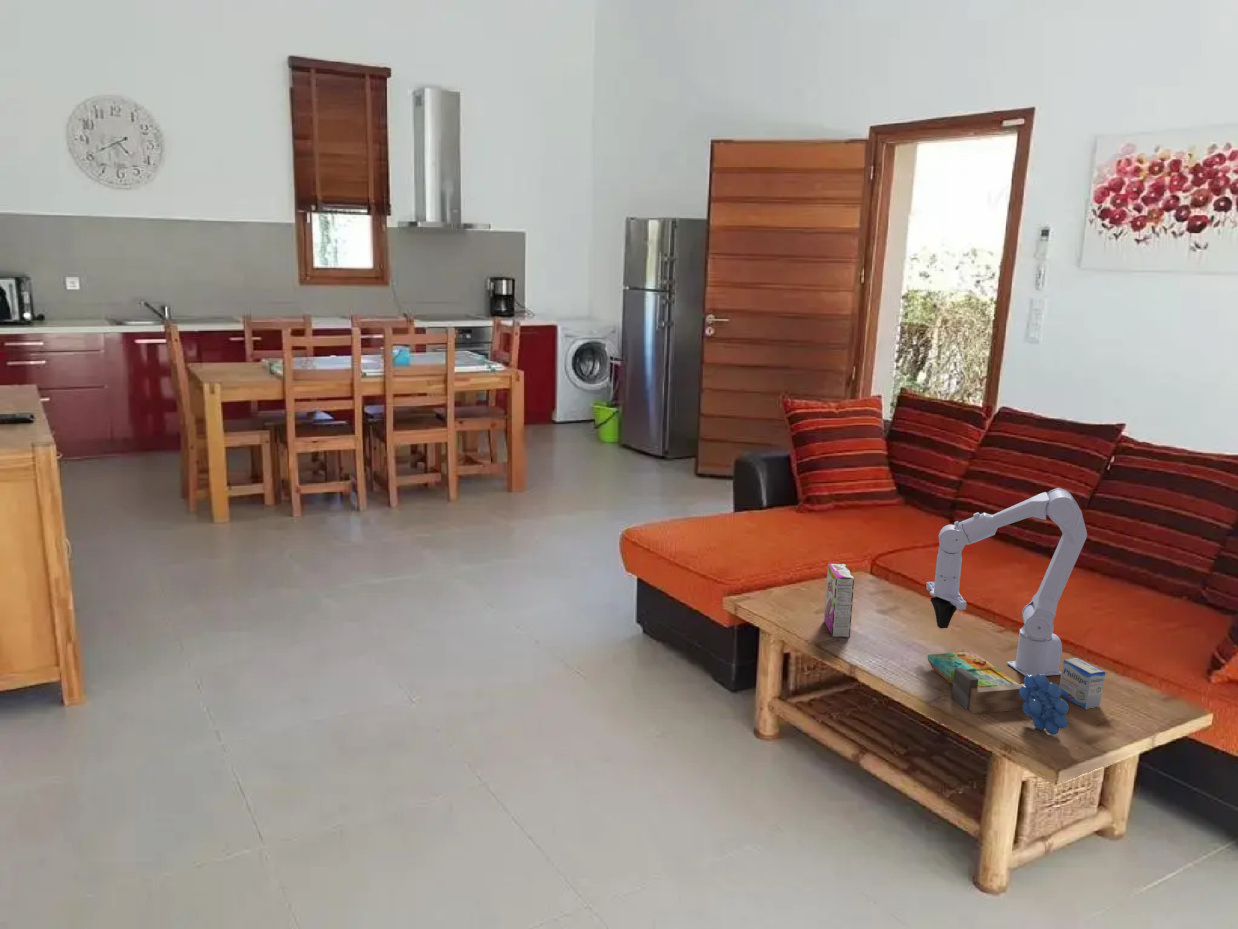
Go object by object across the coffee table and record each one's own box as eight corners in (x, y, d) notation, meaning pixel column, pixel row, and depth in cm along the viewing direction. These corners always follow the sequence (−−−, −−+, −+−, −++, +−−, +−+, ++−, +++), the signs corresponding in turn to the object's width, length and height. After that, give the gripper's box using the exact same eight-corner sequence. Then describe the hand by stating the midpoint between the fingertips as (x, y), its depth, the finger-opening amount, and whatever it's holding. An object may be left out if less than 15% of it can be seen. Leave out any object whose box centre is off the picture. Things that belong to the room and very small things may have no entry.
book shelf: (1031, 690, 220) (1035, 662, 219) (1054, 706, 213) (1058, 677, 211) (951, 697, 216) (954, 668, 214) (971, 714, 208) (975, 684, 206)
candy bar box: (822, 621, 258) (827, 562, 254) (841, 621, 258) (846, 563, 254) (830, 637, 247) (835, 577, 244) (850, 638, 247) (855, 577, 244)
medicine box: (1057, 694, 219) (1062, 659, 217) (1072, 692, 220) (1077, 656, 218) (1085, 710, 211) (1091, 673, 209) (1100, 707, 213) (1106, 671, 211)
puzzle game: (972, 647, 232) (1024, 683, 213) (970, 665, 233) (1021, 703, 214) (928, 651, 230) (977, 688, 211) (926, 669, 231) (974, 707, 212)
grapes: (1002, 722, 205) (1009, 669, 202) (1023, 715, 208) (1030, 663, 206) (1050, 746, 195) (1058, 692, 192) (1072, 739, 198) (1079, 685, 196)
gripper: (917, 565, 239) (912, 617, 242) (949, 585, 225) (944, 639, 228) (942, 564, 241) (937, 615, 244) (976, 583, 227) (970, 637, 230)
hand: (942, 627), depth 236 cm, fingers closed
